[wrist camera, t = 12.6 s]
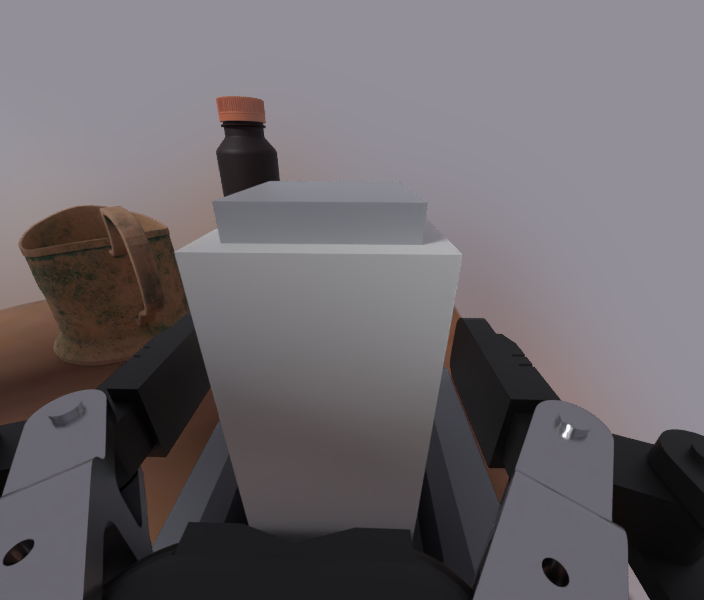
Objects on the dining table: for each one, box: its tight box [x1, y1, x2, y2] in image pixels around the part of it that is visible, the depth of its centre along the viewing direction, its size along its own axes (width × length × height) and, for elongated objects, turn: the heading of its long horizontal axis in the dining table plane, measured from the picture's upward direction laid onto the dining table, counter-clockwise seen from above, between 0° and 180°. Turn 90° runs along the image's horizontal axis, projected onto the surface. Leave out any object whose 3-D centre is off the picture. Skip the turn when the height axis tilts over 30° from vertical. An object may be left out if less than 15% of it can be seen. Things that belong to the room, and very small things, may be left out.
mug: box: [19, 205, 191, 366], centre depth 24 cm, size 12×18×12 cm, turn 47°
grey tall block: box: [174, 181, 463, 542], centre depth 10 cm, size 5×5×13 cm
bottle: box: [216, 96, 280, 197], centre depth 37 cm, size 7×7×20 cm
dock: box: [152, 368, 500, 587], centre depth 13 cm, size 18×14×4 cm
